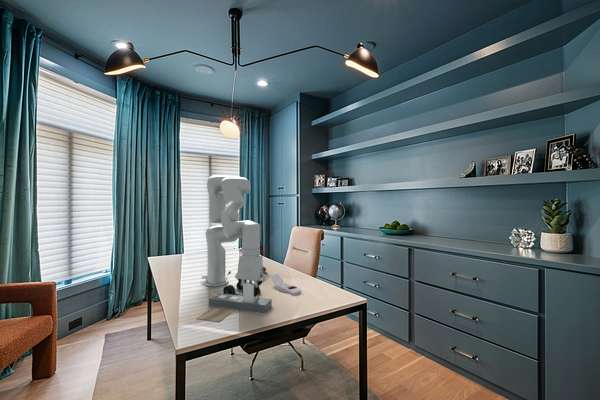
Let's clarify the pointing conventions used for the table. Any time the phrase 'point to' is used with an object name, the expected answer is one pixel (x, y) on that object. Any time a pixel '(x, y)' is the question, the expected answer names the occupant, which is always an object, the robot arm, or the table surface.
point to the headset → (231, 289)
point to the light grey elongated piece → (284, 285)
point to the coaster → (214, 315)
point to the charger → (249, 292)
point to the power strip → (239, 303)
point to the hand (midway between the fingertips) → (250, 294)
